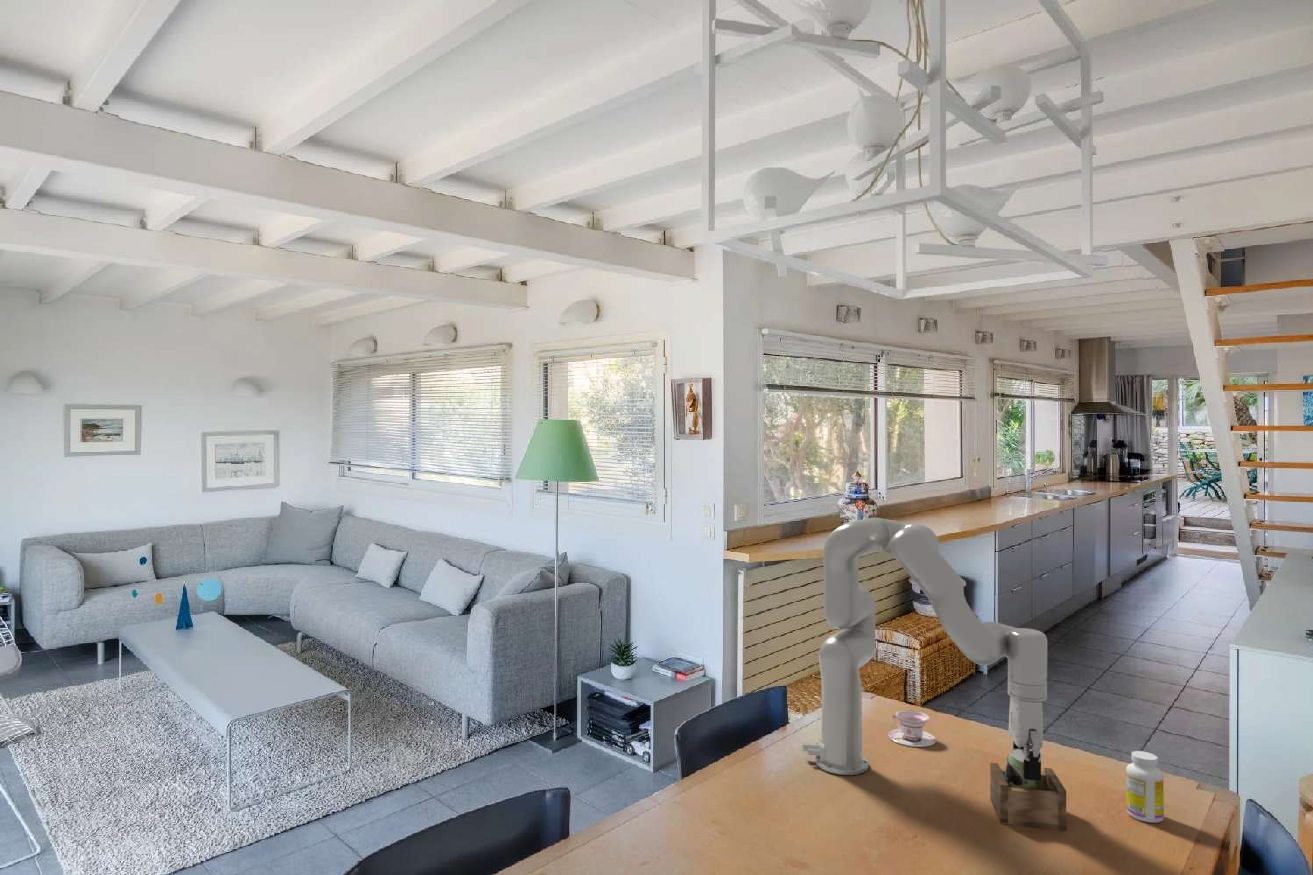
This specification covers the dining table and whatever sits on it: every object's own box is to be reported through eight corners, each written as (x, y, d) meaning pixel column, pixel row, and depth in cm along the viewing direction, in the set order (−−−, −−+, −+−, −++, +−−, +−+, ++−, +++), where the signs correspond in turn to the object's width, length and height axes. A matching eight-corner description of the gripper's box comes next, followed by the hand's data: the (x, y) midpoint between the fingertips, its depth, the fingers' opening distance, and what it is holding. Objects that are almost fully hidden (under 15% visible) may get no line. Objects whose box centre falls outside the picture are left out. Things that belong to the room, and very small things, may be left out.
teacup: (937, 734, 207) (937, 711, 207) (933, 751, 196) (934, 727, 196) (891, 727, 212) (891, 705, 212) (885, 743, 201) (885, 719, 201)
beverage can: (1025, 799, 168) (1029, 744, 167) (1042, 817, 160) (1045, 760, 160) (996, 797, 168) (999, 743, 167) (1011, 815, 160) (1015, 758, 160)
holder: (1000, 823, 159) (1000, 784, 159) (990, 798, 170) (990, 762, 170) (1066, 830, 157) (1066, 790, 157) (1051, 805, 167) (1051, 768, 167)
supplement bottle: (1158, 811, 165) (1158, 751, 165) (1167, 826, 158) (1168, 763, 158) (1122, 806, 167) (1122, 747, 167) (1130, 820, 161) (1130, 759, 161)
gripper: (999, 675, 173) (999, 751, 173) (1017, 700, 156) (1016, 785, 156) (1036, 677, 171) (1035, 755, 171) (1057, 704, 154) (1057, 789, 154)
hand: (1026, 769), depth 163 cm, fingers open, 9 cm apart
